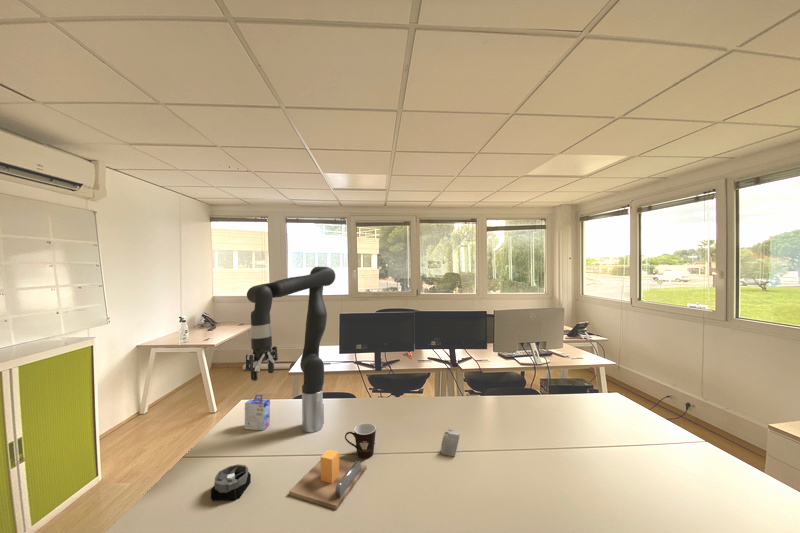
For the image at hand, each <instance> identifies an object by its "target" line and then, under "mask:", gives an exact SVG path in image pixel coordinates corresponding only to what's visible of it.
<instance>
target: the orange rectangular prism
mask: <svg viewBox="0 0 800 533" xmlns="http://www.w3.org/2000/svg"><path fill="white" fill-rule="evenodd" d="M339 459H340V452H339V451H336V450H333V449H327V450H326V451H325V452H324V453H323V454H321V456H320V460H321V481H324V482H328V483H333V482H334V481H335V479H336V478H337V477H338V476H339Z"/></svg>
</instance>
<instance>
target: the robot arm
mask: <svg viewBox="0 0 800 533" xmlns="http://www.w3.org/2000/svg"><path fill="white" fill-rule="evenodd" d="M335 272H336V271H335V270H334V269H333V268H331V267H329V266H315V267H313V268H312V269H311V270H310V273H309V274H306V275H298V276H293V277H291V276H290V277H288V278H282V279H278V280H276V281H273V282H267V283H263V284H256V285H254V286H251V287H249V288H248V290H247V292H246V298H247V300H248V301H249V302H251V303H253V304H254V310H252V311H251V313H250V325H251V326H250V348H251V349H252V353H251V354H246V355H245V371H249V372H250V379H251V381H252V382H253V381H255V382H256V381H258V368H259V367H260V365H262V364H261V363H264V362H265V361H266V362H267V373H268V374H273V373H274V372H275V362H276V361H278V360H279V358H278V357H279V356H278V346H273V338H272V337H273V336H272V334H273V333H272V325H271V309H272V304H273V298H281V297H287V296H288V295H292V294H295V293H298V292H301V291H304V290H308V303H307V313H306V321H305V331H304V332H305V333H304V344H303V350H302V354H301V359H300V363H299V364H300V369H301V371H302V373H303V384H302V385H301V409H302V410H301V412H302V413H301V419H302V421H301V424H302V426H301V428H302V431H303V432H304V433H316V432H318V431H320V430H321V429H322V428H323V427H324V423H325V415H324V414H325V410H324V409H325V408H324V405H325V404H324V403H323V402H324V400H323V399H324V397H323V395H324V394H323V386H324V384H325V383H324V381H325V364H324V362H323V359H321V358H320V344H321V341H322V338H323V335H324V334H325V330H326V326H327V319H328V318H327V317H328V312H327V308H326V305H325V301H324V297H323V296H324V295H323V292H324V287H328V286H330V285H332V284H333V283H334V282H335V280H336V273H335Z"/></svg>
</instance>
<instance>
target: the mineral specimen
mask: <svg viewBox="0 0 800 533" xmlns="http://www.w3.org/2000/svg"><path fill="white" fill-rule="evenodd" d="M460 435H461V434H460V432H459V431H458V430H457V429H451V428H448V429H446V430H445V431H444V433H443V436H442V441H441V446H440V453H441V454H442V455H444V456H445V455H446V456H448V457H449V456H450V457H455V456H456V453H457V450H458V445H459V441H460V440H459V439H460Z"/></svg>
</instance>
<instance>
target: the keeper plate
mask: <svg viewBox="0 0 800 533" xmlns="http://www.w3.org/2000/svg"><path fill="white" fill-rule="evenodd" d="M367 466H368V465H366V464H362V462H361V461H360V460H355V461H354V462H353V461H349V460H345V459H341V458H339V476H338V477H337V478H336V479H335V481H334V482H333V483H328V482H324V481H321V459H319V461H318V462H317V463H316V464H315V465H314V466H313V467H312V468H311V469H310V470H309V471H308V472H307V473H305V474H304V476H303V477H302V478H301V479H300V480H299V481H298V482H297V483H296V484H295V485H294V486H293V487H292V488H291V489H290V490H289V491H288V495H289V496H291V497H294V498H298V499H301V500H305V501H307V502H309V503H314V504H317V505H320V506H324V507H327V508H329V509H330V508H331V509H334V510H338V509H339V508H340V506H341V505H342V504H343V502H344V501H345V499H346V498H347V497H348V495H349V494H350V492H351V491H352V490H353V489H354V487H355V485H356V484H357V483H358V482H359V480H360V479H361V477H362V476H363V475H364V473H365V472H366V470H367Z"/></svg>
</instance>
